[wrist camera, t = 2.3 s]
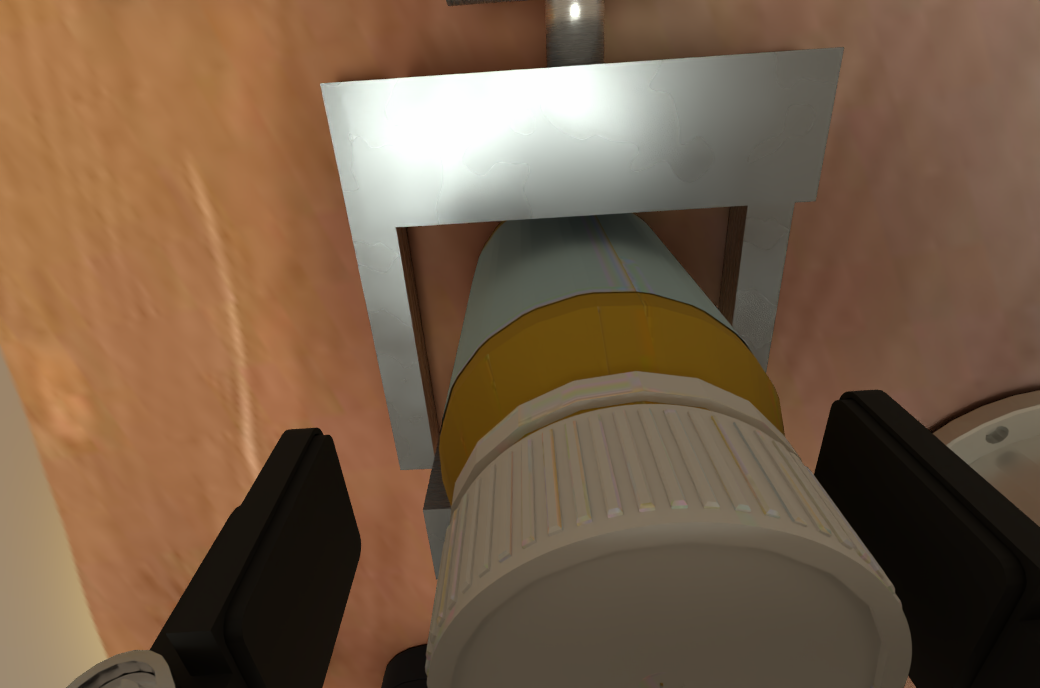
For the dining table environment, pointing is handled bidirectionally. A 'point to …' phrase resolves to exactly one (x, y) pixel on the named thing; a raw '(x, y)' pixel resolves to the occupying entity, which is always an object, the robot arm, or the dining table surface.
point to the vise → (572, 176)
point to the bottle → (634, 490)
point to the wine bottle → (407, 670)
